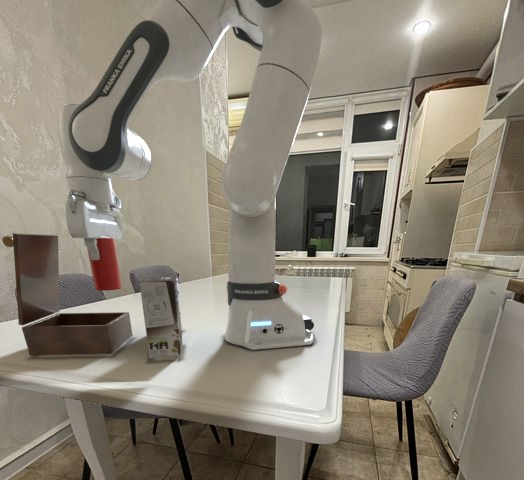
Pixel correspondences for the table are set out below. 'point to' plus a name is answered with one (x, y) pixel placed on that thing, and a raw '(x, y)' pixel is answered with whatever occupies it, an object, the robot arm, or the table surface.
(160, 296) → the coffee box
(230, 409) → the table surface
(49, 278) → the chest lid
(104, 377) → the table surface
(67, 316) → the chest
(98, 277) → the can
